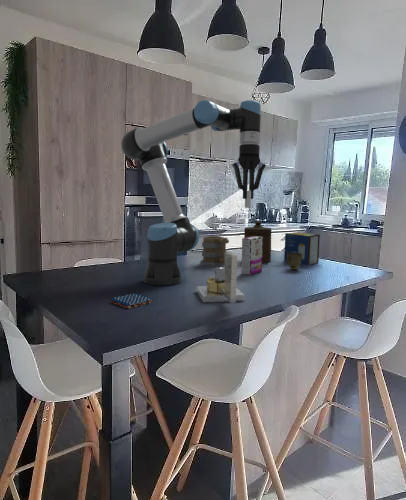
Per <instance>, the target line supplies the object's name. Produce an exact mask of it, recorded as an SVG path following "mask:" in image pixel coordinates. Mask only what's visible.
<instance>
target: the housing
mask: <svg viewBox="0 0 406 500" xmlns="http://www.w3.org/2000/svg"><path fill="white" fill-rule="evenodd" d="M224 269H225V266H215V267H214V270H215V271H214V279H215V280H216V281H217V283H224ZM195 288H196V290H195V291H196V294H197V295H198V296H199V298H200V299H201V301H202V302H203V303H216V302H223V303H224V302H229V301H228V300H227V299H226V298H225V297H224V295H223V294H222V293H218V292H217V293H216V292H210V291H208V290H207V285H201V286H200V285H196V287H195ZM245 296H246V295H245V294H244V292H242V291H241V290H240V289H239V288H237V287H236V300H235V302H242V301H243V302H244V301H245Z"/></svg>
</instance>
